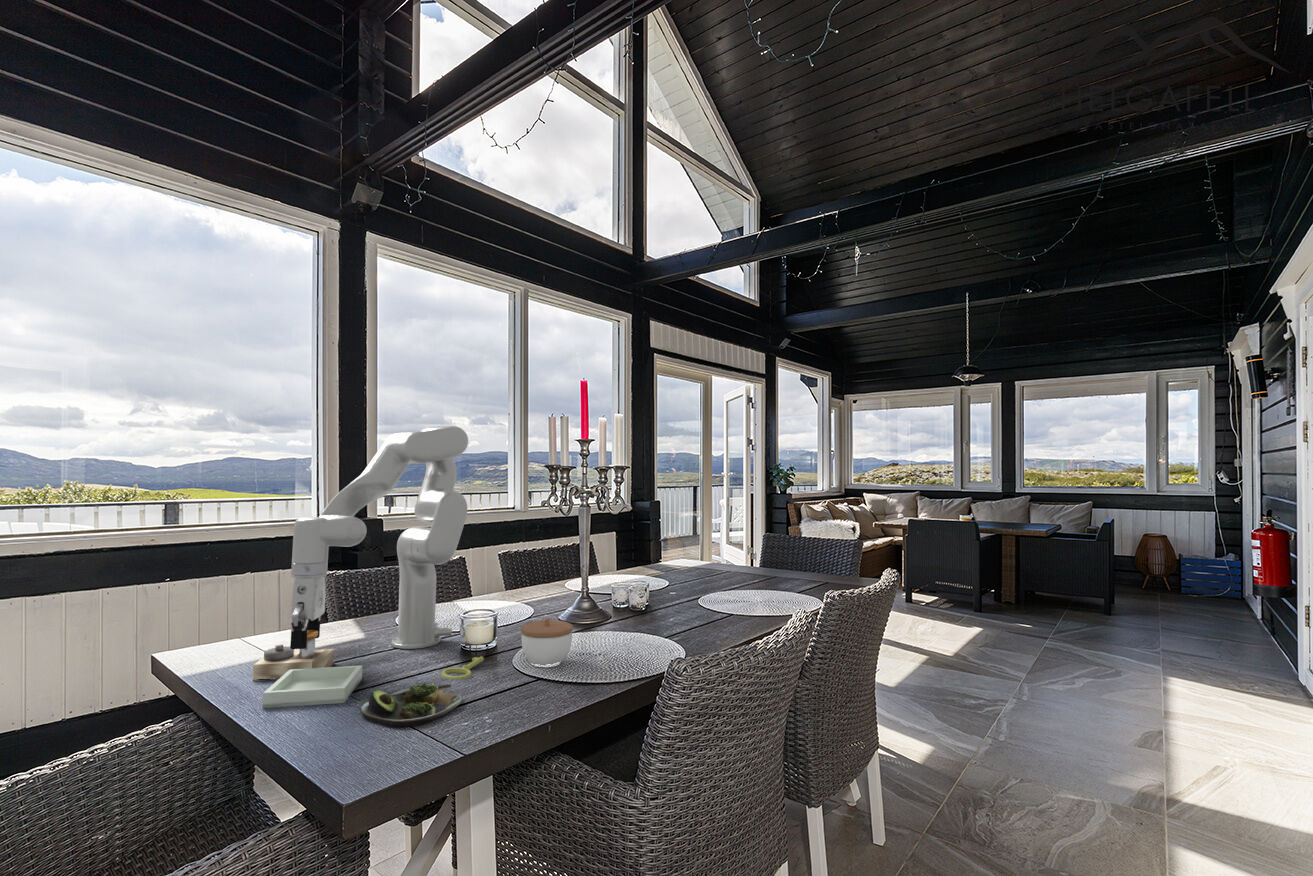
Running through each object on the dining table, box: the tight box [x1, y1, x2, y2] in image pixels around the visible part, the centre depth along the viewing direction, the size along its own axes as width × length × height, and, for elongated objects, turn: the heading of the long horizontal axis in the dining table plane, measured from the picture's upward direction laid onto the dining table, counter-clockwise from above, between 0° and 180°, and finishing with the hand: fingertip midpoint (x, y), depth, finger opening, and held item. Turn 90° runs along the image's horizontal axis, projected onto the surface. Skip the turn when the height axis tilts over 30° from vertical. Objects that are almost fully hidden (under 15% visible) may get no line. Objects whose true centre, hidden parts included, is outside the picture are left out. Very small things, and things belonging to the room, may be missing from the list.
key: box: [441, 656, 485, 680], centre depth 149 cm, size 7×12×2 cm, turn 178°
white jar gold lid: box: [299, 630, 318, 659], centre depth 148 cm, size 4×4×9 cm
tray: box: [262, 665, 363, 709], centre depth 134 cm, size 15×15×3 cm
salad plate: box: [356, 682, 463, 728], centre depth 127 cm, size 19×18×5 cm
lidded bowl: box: [520, 617, 573, 665], centre depth 155 cm, size 13×13×11 cm
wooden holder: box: [252, 644, 335, 681], centre depth 148 cm, size 14×10×6 cm
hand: (305, 643), depth 148 cm, fingers open, 9 cm apart
